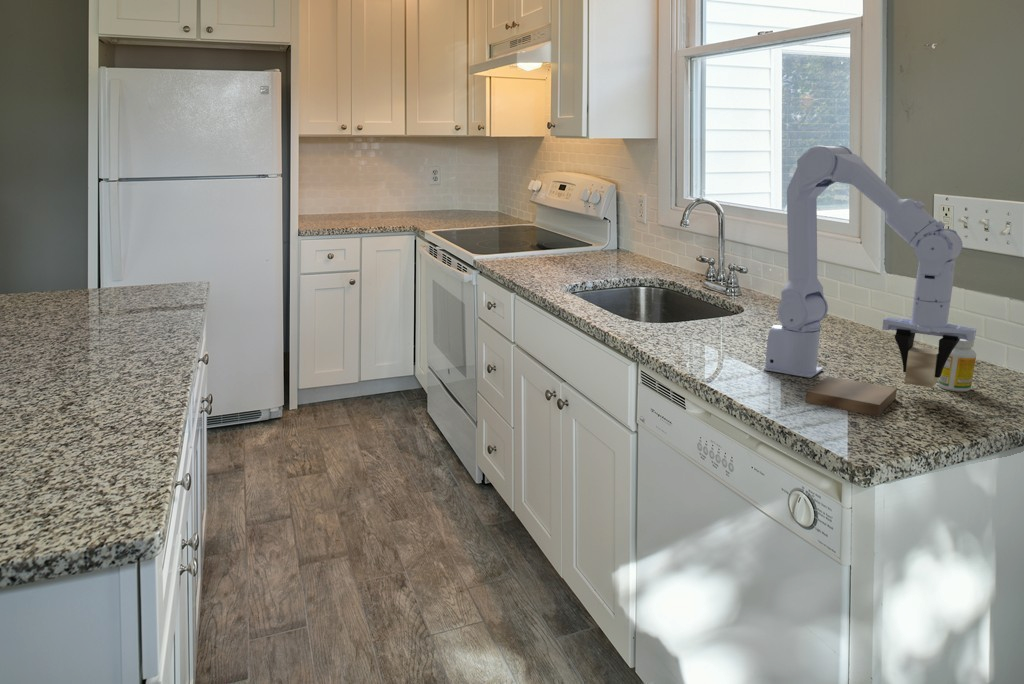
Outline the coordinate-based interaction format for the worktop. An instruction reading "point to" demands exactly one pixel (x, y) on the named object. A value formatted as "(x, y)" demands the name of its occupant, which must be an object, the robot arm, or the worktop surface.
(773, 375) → the worktop surface
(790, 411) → the worktop surface
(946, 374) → the supplement bottle
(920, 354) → the beech block
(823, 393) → the walnut plinth
